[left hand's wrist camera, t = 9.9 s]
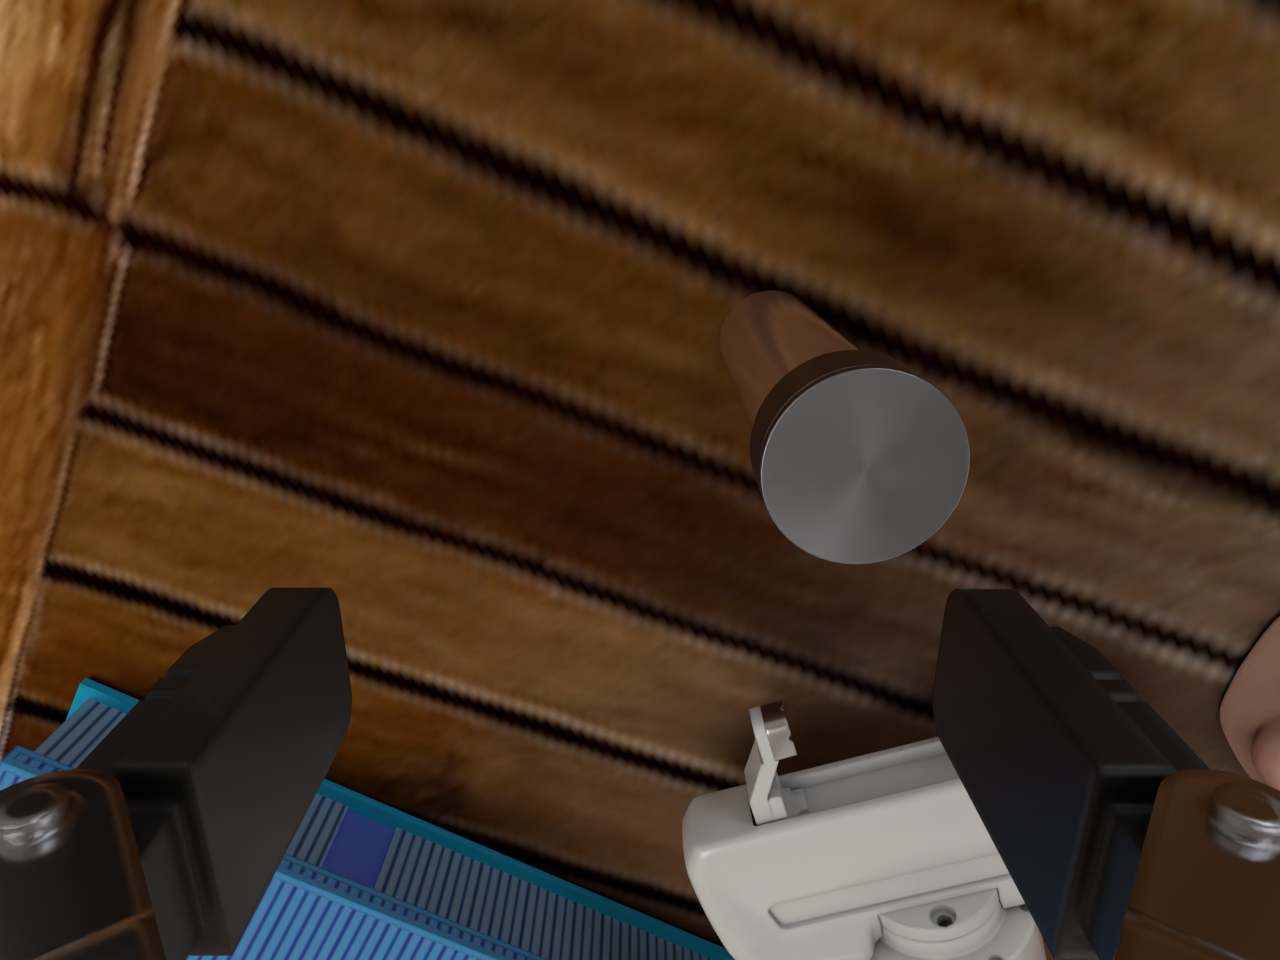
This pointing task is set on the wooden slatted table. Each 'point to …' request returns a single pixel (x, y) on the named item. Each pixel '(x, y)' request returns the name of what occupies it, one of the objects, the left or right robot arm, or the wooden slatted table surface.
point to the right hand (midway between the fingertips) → (877, 684)
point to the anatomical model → (1256, 710)
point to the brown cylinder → (772, 343)
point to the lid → (858, 457)
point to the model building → (394, 881)
